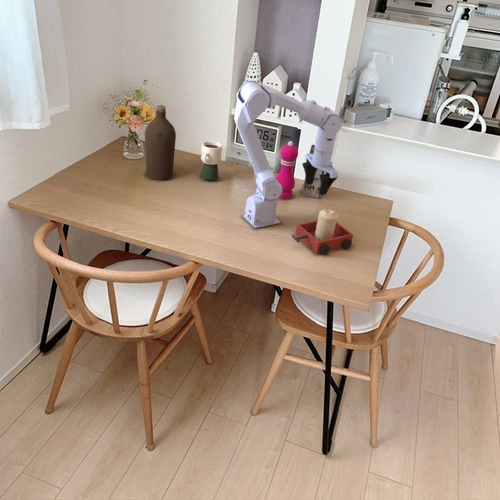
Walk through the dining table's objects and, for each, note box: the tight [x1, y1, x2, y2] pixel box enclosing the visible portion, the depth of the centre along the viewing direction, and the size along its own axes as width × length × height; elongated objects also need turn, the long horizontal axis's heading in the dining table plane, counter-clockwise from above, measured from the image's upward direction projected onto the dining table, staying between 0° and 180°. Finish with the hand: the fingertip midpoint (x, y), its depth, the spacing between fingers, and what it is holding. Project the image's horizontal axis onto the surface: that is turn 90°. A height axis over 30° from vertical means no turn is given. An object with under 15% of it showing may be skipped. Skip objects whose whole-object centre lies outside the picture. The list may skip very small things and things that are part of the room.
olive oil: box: [144, 104, 177, 181], centre depth 184 cm, size 11×11×25 cm
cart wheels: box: [291, 234, 353, 255], centre depth 162 cm, size 17×13×3 cm
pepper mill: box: [275, 140, 299, 200], centre depth 183 cm, size 7×7×20 cm
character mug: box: [200, 140, 223, 181], centre depth 190 cm, size 11×7×13 cm, turn 158°
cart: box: [294, 219, 354, 255], centre depth 163 cm, size 13×11×4 cm
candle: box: [315, 207, 338, 241], centre depth 161 cm, size 6×6×10 cm
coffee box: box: [301, 144, 325, 199], centre depth 189 cm, size 9×6×16 cm
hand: (316, 189), depth 170 cm, fingers open, 7 cm apart
